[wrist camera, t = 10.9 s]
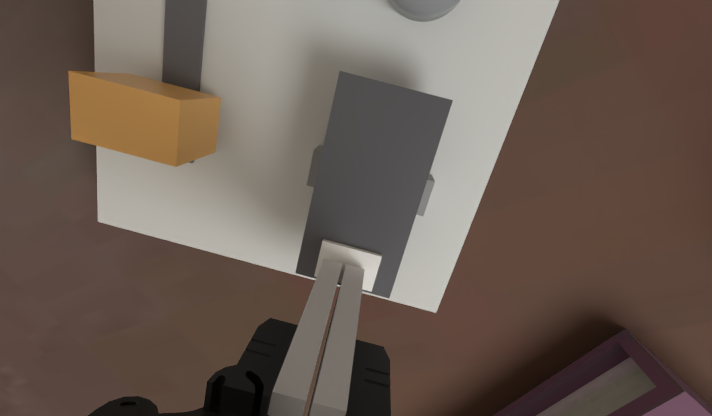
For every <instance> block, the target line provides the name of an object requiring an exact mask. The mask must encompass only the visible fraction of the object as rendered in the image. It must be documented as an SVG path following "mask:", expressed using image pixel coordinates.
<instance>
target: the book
mask: <svg viewBox="0 0 712 416" xmlns="http://www.w3.org/2000/svg"><path fill="white" fill-rule="evenodd" d="M493 416H712V407H711V406H710V405H709V404H707V403H706V402H705V401H704V400H703V399H702V398H701V397H700V396H699V395H698V394H697V393H695V392H694V391H693V390H692V389H691V388H690V387H689V386H688V385H687V384H686V383H684V382H683V381H682V380H681V379H680V378H679V377H678V376H677V375H676V374H675V373H674V372H672V371H671V370H670V369H669V368H668V367H667V366H666V365H665V364H664V363H663V362H662V361H660V360H659V359H658V358H657V357H656V356H655V355H654V354H653V353H652V352H651V351H650V350H648V349H647V348H646V347H645V346H644V345H643V344H642V343H641V342H640V341H639V340H638V339H636V338H635V337H634V336H633V335H632V334H631V333H630V332H629V331H628V330H627V329H626V328H625V329H623V330H622V331H620V332H619V333H617V334H616V335H614V336H613V337H611V338H610V339H608V340H607V341H605V342H604V343H602V344H600V345H599V346H597V347H596V348H594V349H593V350H591V351H590V352H588V353H587V354H585V355H584V356H582V357H581V358H579V359H578V360H576V361H575V362H573V363H572V364H570V365H569V366H567V367H566V368H564V369H563V370H561V371H559V372H558V373H556V374H555V375H553V376H552V377H550V378H549V379H547V380H546V381H544V382H543V383H541V384H540V385H538V386H537V387H535V388H534V389H532V390H531V391H529V392H528V393H526V394H525V395H523V396H521V397H520V398H518V399H517V400H515V401H514V402H512V403H511V404H509V405H508V406H506V407H505V408H503V409H502V410H500V411H499V412H497V413H496V414H494V415H493Z"/></svg>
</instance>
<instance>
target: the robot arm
mask: <svg viewBox="0 0 712 416" xmlns="http://www.w3.org/2000/svg"><path fill="white" fill-rule="evenodd" d="M342 264H343V263H340V262H336V261H332V260H328V259H325V258H324V260H323V263H322V265H321V268H320V270H319V273H318V275H317V278H316V281H315V283H314V286H313V288H312V291H311V293H310V296H309V299H308V301H307V304H306V306H305V309H304V311H303V314H302V317H301V319H300V322H299V324H298V325H295V324H291V323H287V322H283V321H280V320H276V319H272V318H270V319H268V320H267V321H265V322H264V323H263V324H261V325H260V326H258V328H257V330H256V331H255V333H254V335H253V337H252V339H251V341H250V342H249V344H248V346H247V348H246V350H245V351H244V353H243V355H242V356H241V358H240V360H239V362H238V364H237V365H234V366H229V367H225V368H223V369H221V370H219V371H218V372H216V373H215V374H214V375H213V376H212V377H211V378H210V379H209V380H208V381H207V388H206V395H205V402H204V407H202V408H200V409H197V410H194V411H189V412H182V413H161V414H159V413H158V409H157V406H156V405H155V404H154V403H152V402H151V401H150V400H149V399H145V398H142V397H139V396H134V397H122V398H119V399H116V400H113V401H110V402H108V403H106V404H105V405H103V406H101V407H100V408H98V409H96V410H95V411H94V412H92V413H91V414H90V415H88V416H303V412H304V408H305V404H306V400H307V397H308V393H309V389H310V385H311V381H312V378H313V374H314V370H315V366H316V363H317V359H318V355H319V351H320V347H321V344H322V340H323V336H324V332H325V329H326V325H327V321H328V317H329V313H330V310H331V306H332V302H333V298H334V294H335V291H336V287H337V283H338V279H339V275H340V271H341V268H342ZM364 270H365V269H362V268H359V267H355V266H351V265H347V264H346V267H345V270H344V274H343V278H342V282H341V285H340V289H339V293H338V297H337V300H336V304H335V308H334V312H333V315H332V319H331V323H330V327H329V331H328V335H327V339H326V343H325V347H324V351H323V355H322V359H321V363H320V367H319V371H318V375H317V379H316V383H315V387H314V391H313V395H312V400H311V404H310V408H309V412H308V416H391V404H390V359H389V357H388V355H387V353H386V351H385V349H384V347H382V346H378V345H375V344H371V343H367V342H363V341H359V340H356V334H357V326H358V318H359V310H360V302H361V294H362V286H363V278H364Z"/></svg>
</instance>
